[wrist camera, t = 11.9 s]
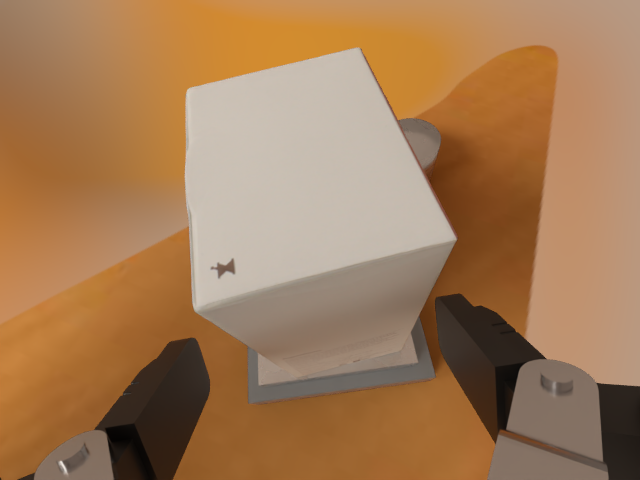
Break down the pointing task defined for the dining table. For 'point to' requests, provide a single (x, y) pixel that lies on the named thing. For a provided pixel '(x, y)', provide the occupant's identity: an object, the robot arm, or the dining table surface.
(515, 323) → the dining table surface
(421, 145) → the cylinder
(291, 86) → the small box
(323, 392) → the scale base
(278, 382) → the platter
